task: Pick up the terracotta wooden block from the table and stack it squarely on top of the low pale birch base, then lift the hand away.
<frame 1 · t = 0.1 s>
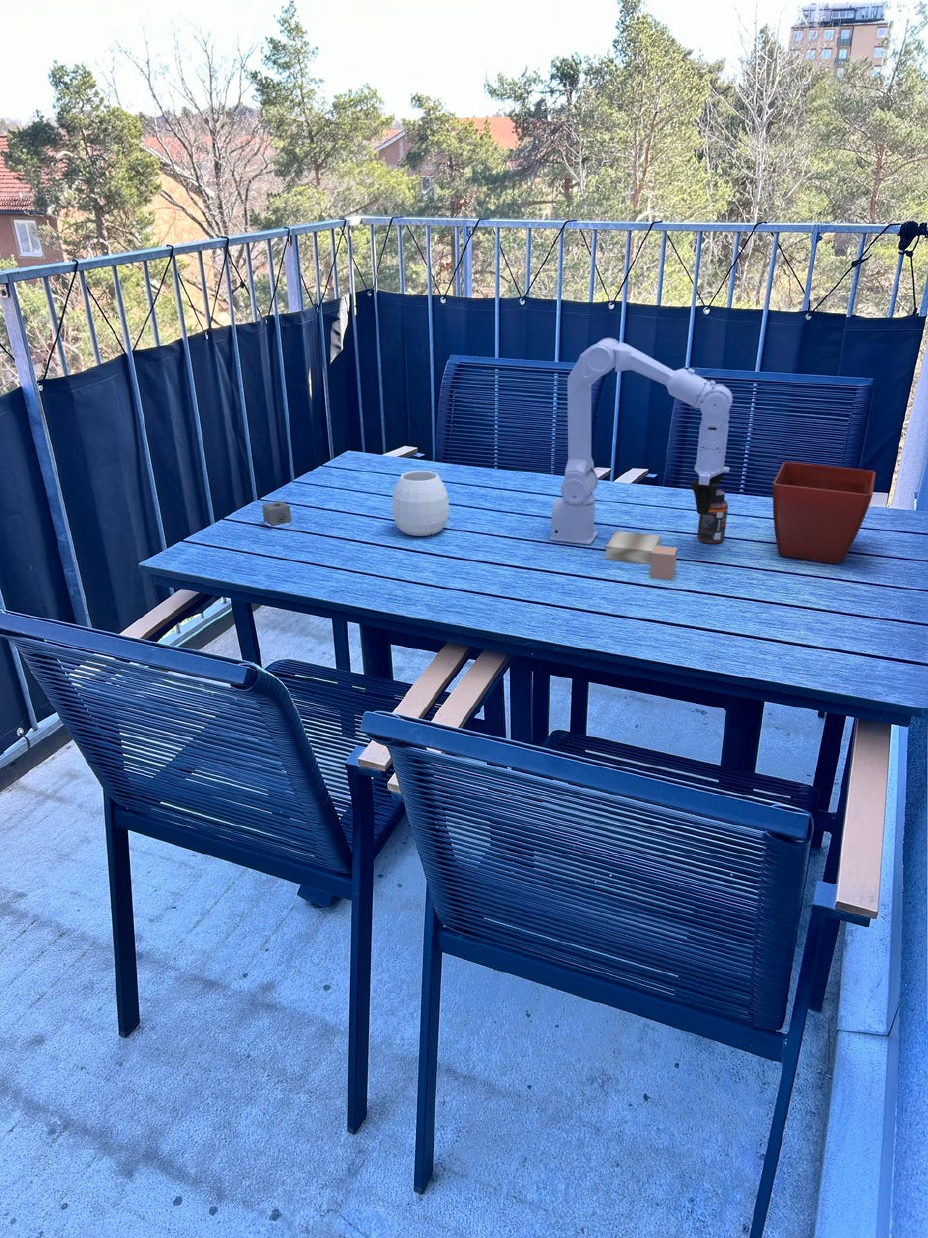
hand: (705, 508, 191), 10 cm above the table, tool pointing down, fingers open, 7 cm apart
supplement bottle: (710, 540, 202), on the table
plant pot: (813, 552, 195), on the table
birch base: (633, 553, 195), on the table
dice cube: (278, 525, 216), on the table
terracotta block: (662, 575, 184), on the table
white vase: (421, 531, 210), on the table
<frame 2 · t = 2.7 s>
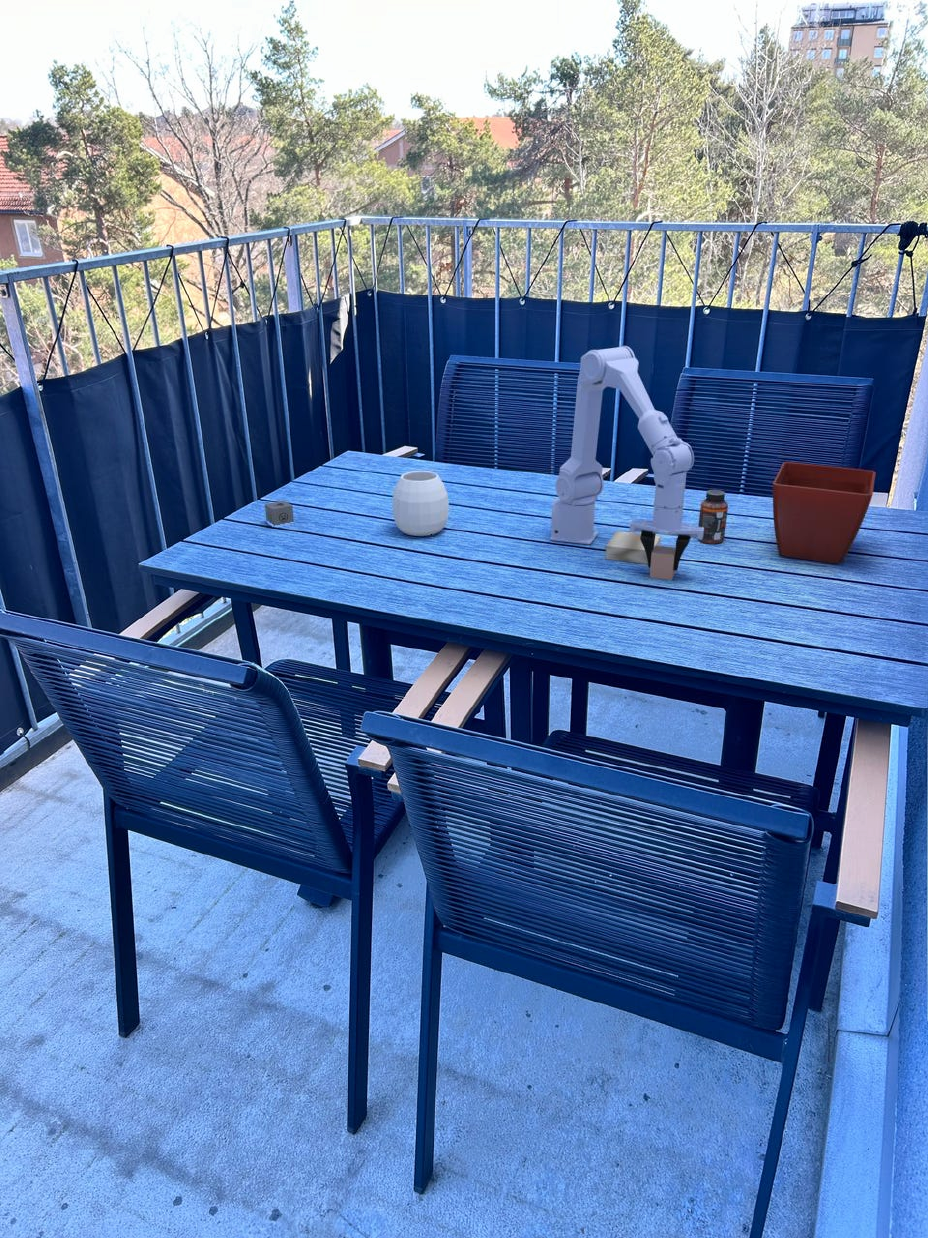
hand: (663, 567, 183), 2 cm above the table, tool pointing down, fingers closed on terracotta block, 4 cm apart
terracotta block: (662, 574, 184), on the table, touching gripper
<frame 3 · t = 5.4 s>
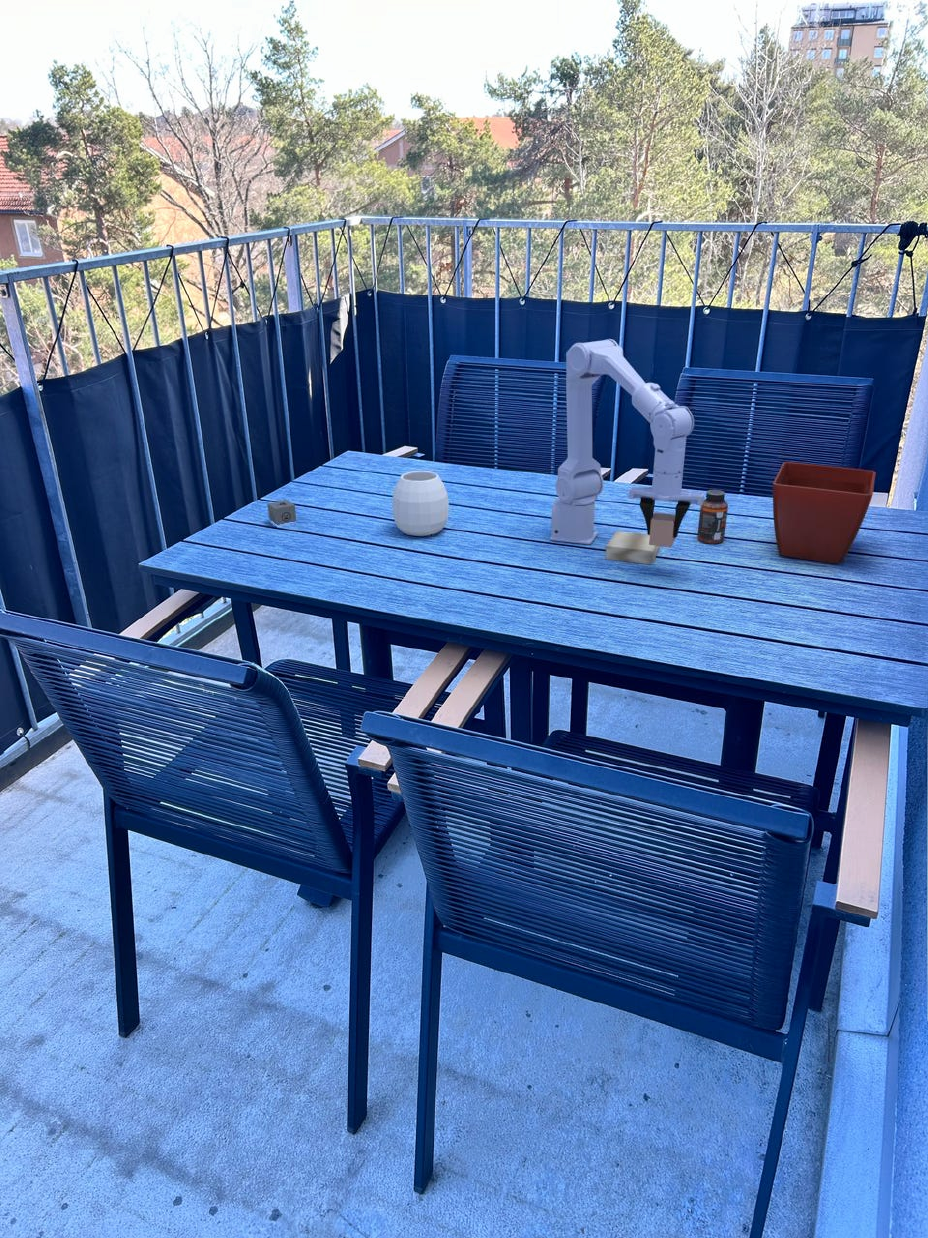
hand: (662, 534, 181), 8 cm above the table, tool pointing down, fingers closed on terracotta block, 4 cm apart
terracotta block: (661, 542, 182), point 7 cm above the table, touching gripper
when the fingers open (6 cm above the table, at t = 8.1 s): terracotta block drops 2 cm, resting on birch base.
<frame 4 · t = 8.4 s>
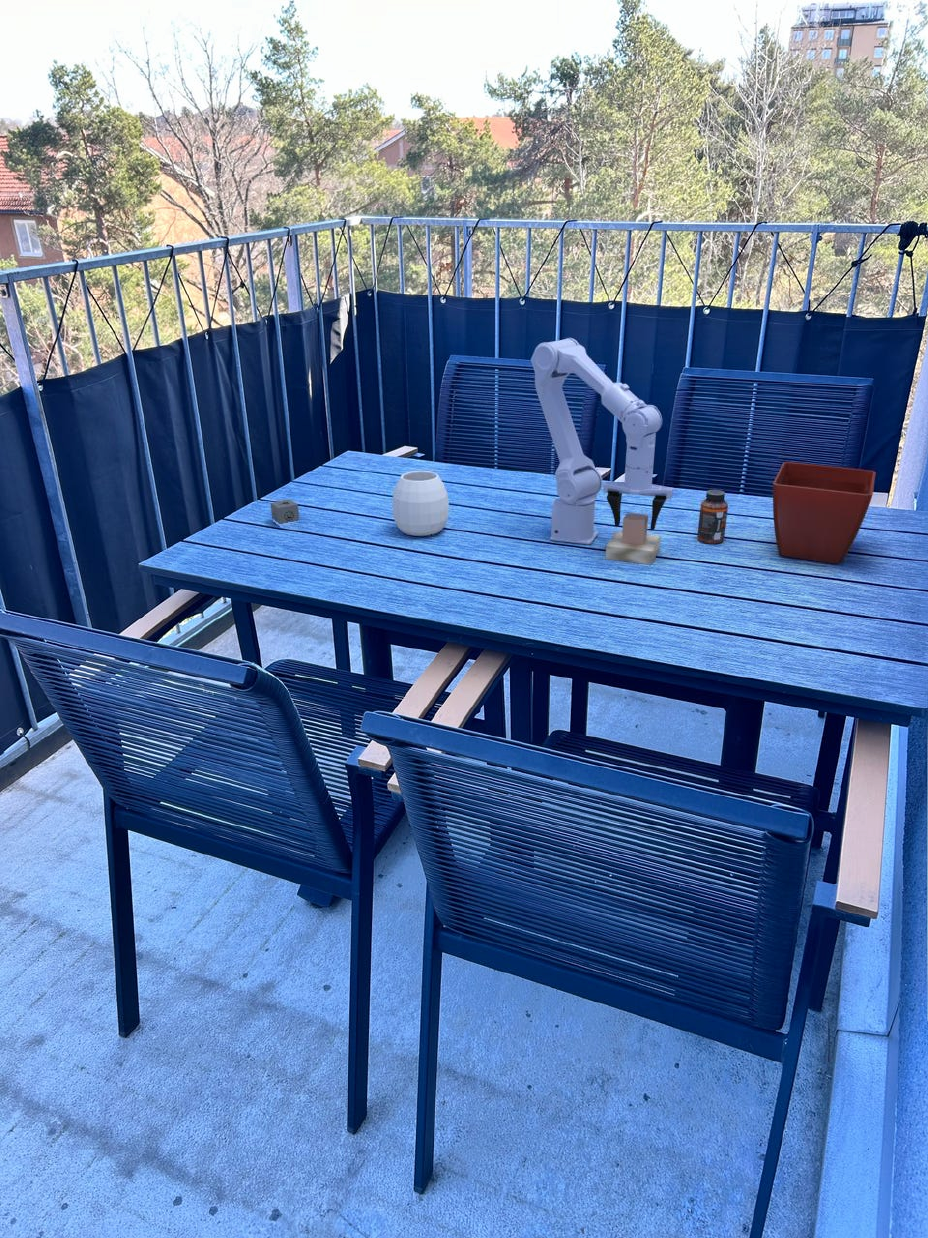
hand: (634, 526, 192), 6 cm above the table, tool pointing down, fingers open, 7 cm apart
terracotta block: (634, 540, 193), point 3 cm above the table, touching birch base
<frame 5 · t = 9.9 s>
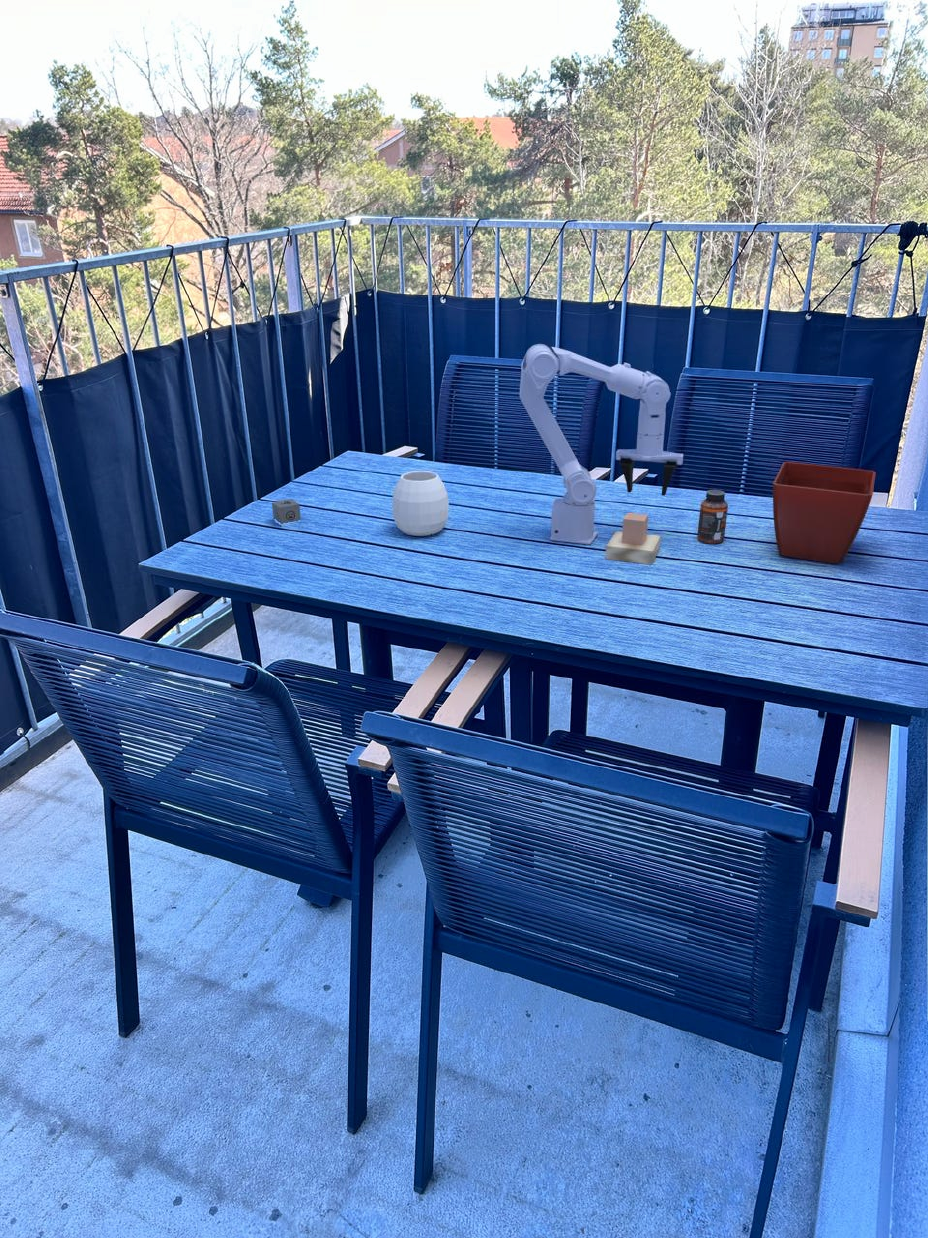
hand: (646, 492, 200), 10 cm above the table, tool pointing down, fingers open, 7 cm apart
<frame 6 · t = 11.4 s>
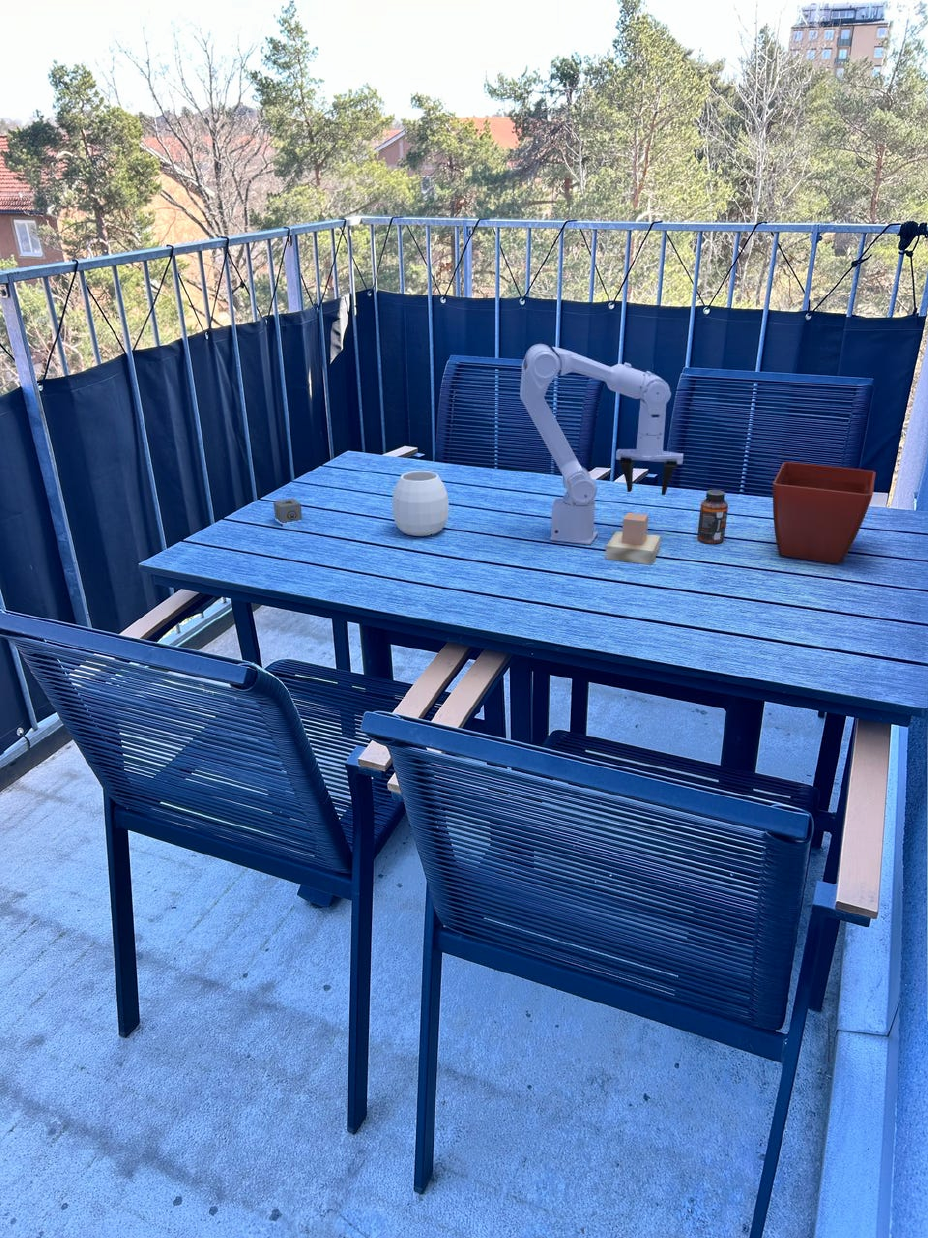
hand: (646, 492, 200), 10 cm above the table, tool pointing down, fingers open, 7 cm apart
at the end: terracotta block 0.0 cm off-centre on the birch base, point 3.0 cm above the birch base's base; terracotta block tilted 0°; the gripper is holding nothing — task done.
